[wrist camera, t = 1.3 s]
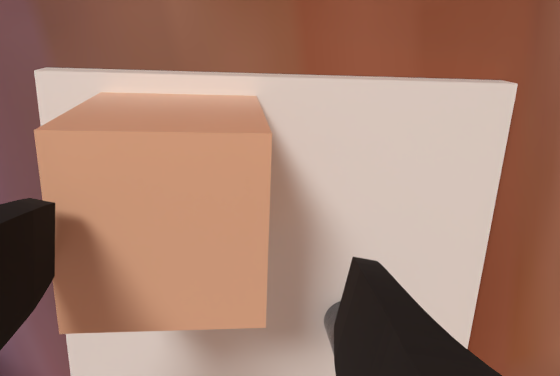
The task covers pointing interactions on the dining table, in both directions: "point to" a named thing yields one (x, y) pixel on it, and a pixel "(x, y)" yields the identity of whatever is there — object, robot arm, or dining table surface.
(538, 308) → the dining table surface
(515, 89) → the base plate
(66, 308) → the peach cube
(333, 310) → the metal stub
